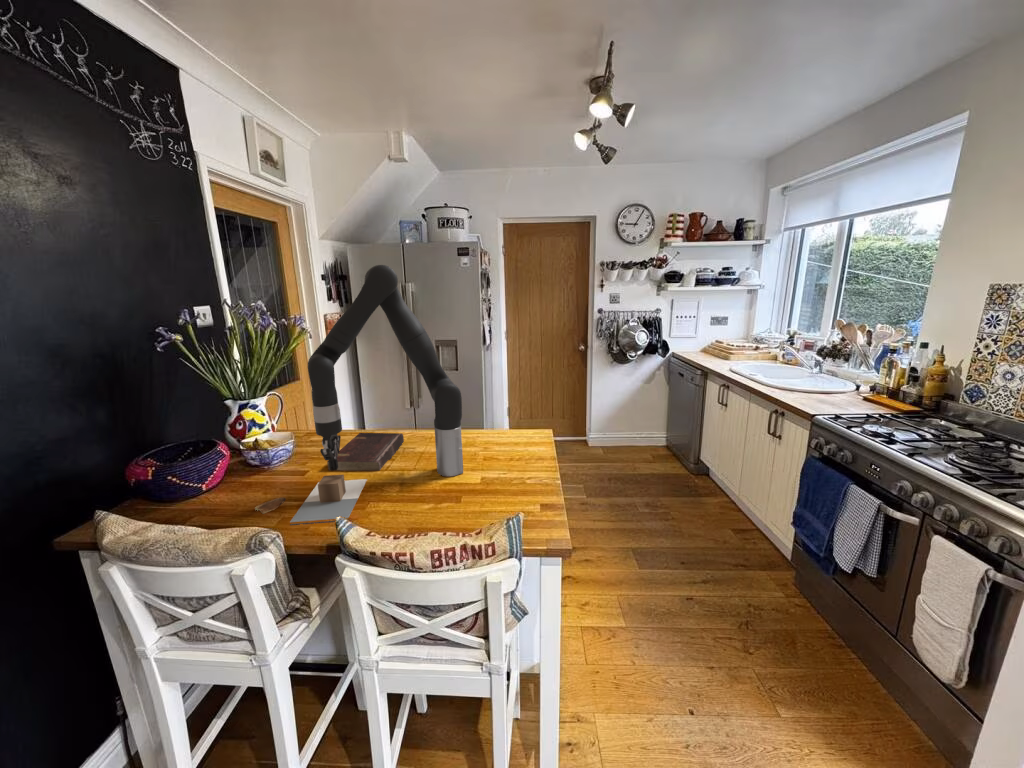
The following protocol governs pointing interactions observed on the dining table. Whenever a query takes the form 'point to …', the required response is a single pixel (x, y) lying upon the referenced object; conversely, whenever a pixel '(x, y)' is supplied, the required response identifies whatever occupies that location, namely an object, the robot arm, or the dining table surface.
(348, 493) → the board
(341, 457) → the hardback book
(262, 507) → the shard
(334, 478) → the walnut cube
